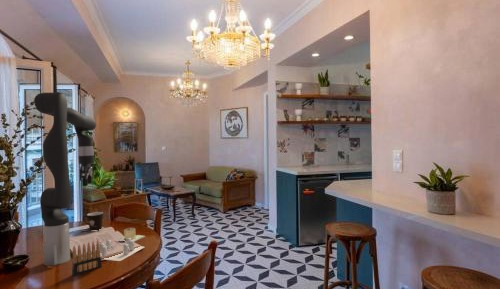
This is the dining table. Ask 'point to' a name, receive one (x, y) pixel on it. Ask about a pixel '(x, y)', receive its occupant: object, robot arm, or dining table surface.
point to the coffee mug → (94, 220)
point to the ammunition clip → (86, 259)
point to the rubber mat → (136, 237)
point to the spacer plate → (123, 255)
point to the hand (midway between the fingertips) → (87, 184)
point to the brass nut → (129, 233)
